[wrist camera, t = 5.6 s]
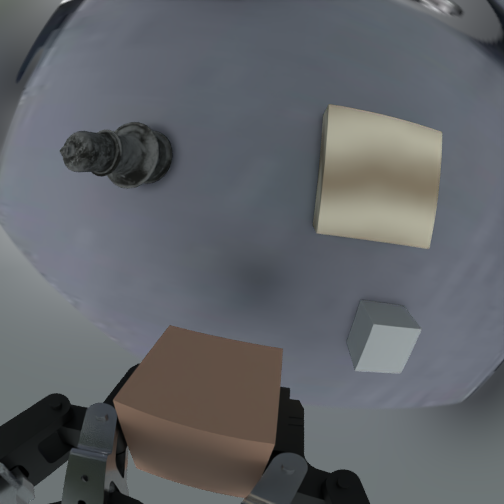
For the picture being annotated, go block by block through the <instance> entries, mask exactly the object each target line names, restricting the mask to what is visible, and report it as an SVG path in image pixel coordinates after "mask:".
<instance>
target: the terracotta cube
mask: <svg viewBox="0 0 504 504" xmlns="http://www.w3.org/2000/svg"><path fill="white" fill-rule="evenodd" d="M282 353H283V349H281V348H275V347H269V346H263V345H258V344H252V343H247V342H242V341H236V340H231V339H227V338H222V337H217V336H212V335H208V334H204V333H199V332H195V331H191V330H187V329H183V328H179V327H175V326H171V325H170V326H169V327H168V328H167V329H166V331H165V332H164V333H163V335H162V336H161V337H160V338H159V340H158V341H157V342H156V344H155V345H154V346H153V348H152V349H151V350H150V351H149V353H148V354H147V355H146V357H145V358H144V359H143V361H142V362H141V363H140V365H139V366H138V367H137V368H136V370H135V371H134V372H133V374H132V375H131V376H130V378H129V379H128V380H127V382H126V383H125V384H124V386H123V387H122V388H121V390H120V391H119V392H118V394H117V395H116V396H115V398H114V399H113V402H114V406H115V409H116V412H117V416H118V419H119V422H120V425H121V428H122V431H123V434H124V437H125V439H126V442H127V445H128V448H129V450H130V453H131V455H132V458H133V460H134V463H135V465H136V468H138V469H140V470H143V471H145V472H148V473H150V474H153V475H156V476H159V477H161V478H165V479H168V480H171V481H174V482H177V483H180V484H184V485H187V486H191V487H195V488H198V489H202V490H206V491H211V492H215V493H220V494H225V495H230V496H235V497H242V498H246V497H247V496H248V495H249V494H250V492H251V491H252V490H253V488H254V487H255V485H256V484H257V482H258V481H259V480H260V478H261V476H262V474H263V472H264V470H265V467H266V465H267V463H268V460H269V458H270V455H271V453H272V451H273V448H274V446H275V440H276V430H277V419H278V407H279V395H280V382H281V368H282Z"/></svg>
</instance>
